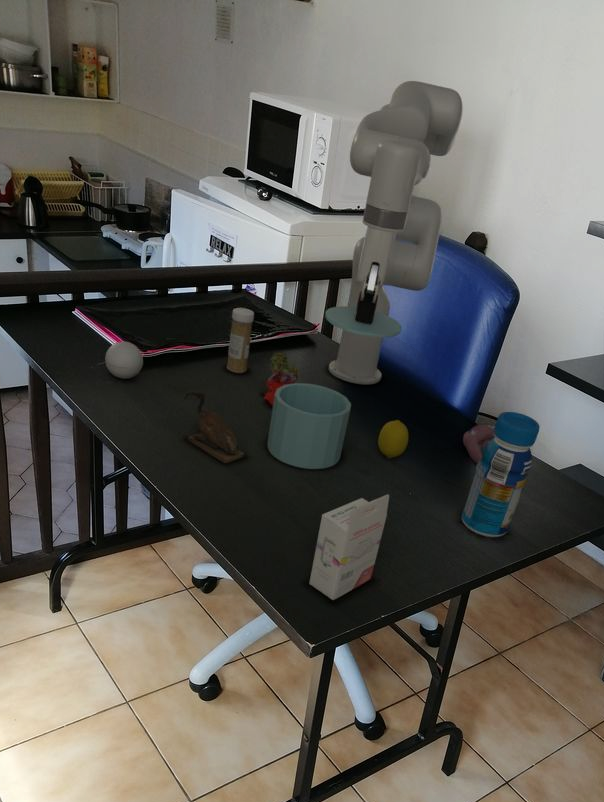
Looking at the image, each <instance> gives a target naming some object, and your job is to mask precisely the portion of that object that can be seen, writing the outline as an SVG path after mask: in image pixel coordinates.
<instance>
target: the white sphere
mask: <svg viewBox="0 0 604 802" xmlns="http://www.w3.org/2000/svg"><path fill="white" fill-rule="evenodd" d="M143 358H144V357H143V354H142V352H141V350H140V349H139V348H138V347H137V346H136V345H135V344H133V343H131V342H129V341H119V342H115V343H113V344H112V345H110V346H109V348H108V349H107V351H106V352H105V357H104V361H103V362H101V363H97V365H96V366H98V365H101V364H104V363H105V366H106V368H107V370H108V372H109V373H110V374H112V375H113V376H114V377H116V378H118V379H122V380H127V379H132V378H134V377H135V376H137V375H138V374H139V373H140V371H141V370H142V369H143V365H144V359H143Z"/></svg>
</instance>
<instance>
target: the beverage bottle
mask: <svg viewBox="0 0 604 802" xmlns="http://www.w3.org/2000/svg"><path fill="white" fill-rule="evenodd" d="M494 426H495V428H494V436H495V437H494V438H493V439H491V440H490V441H489V442H488V443H487V444H486V445H485V447H484V448H483V450H482V451H481V453H482V458H481V459H480V460H479V462H478V464H477V463H476V466H475V467H476V468H475V474H474V477H473V480H472V483H471V486H470V490H469V493H468V496H467V500H466V502H465V506H464V507H463V511H462V513H461V521H462V523H463V524H464V526H465V527H466V528H467V529H468V530H470V531H471V532H473V533H475V534H477V535H480V536H483V537H487V538H499V537H502V536H505V535H506V534H507V533H508V531H509V529H510V526H511V522H512V520H513V517H514V515H515V511H516V509H517V506H518V503H519V501H520V498H521V495H522V492H523V491H524V490H523V489H524V487H525V486H526V485H527V484H526V483H527V481H528V478H529V474H528V473H529V470H530V469H531V468H532V465H533V455H532V451H531V447H533V446H534V444H535V443H536V441H537V438H538V435H539V433H540V428H541V427H540V424H539V423H538V421H537V420H535V419H534V418H533V417H531V416H528V415H526V414H523V413H519V412H515V411H504V412H501V413H500V414H499V415H498V417H497V419H496V422H495V425H494Z"/></svg>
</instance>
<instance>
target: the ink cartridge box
mask: <svg viewBox="0 0 604 802" xmlns="http://www.w3.org/2000/svg"><path fill="white" fill-rule="evenodd" d="M389 501H390V494H388V493H387V494H385V495H383V496H381V497H378V498H375V499H372V500H371V501H368V500H366V499H365V498H363V497H361V498H358V499H357V500H354V501H351V502H349V503H346V504H344V505H341V506H339V507H337V508H335V509H332V510H330V511H327V512H325V513H322V514H321V518H320V519H321V520H320V525H319V530H318V536H317V541H316V545H315V551H314V555H313V561H312V567H311V572H310V578H309V583H308V584H309V585H310V586H312V587H313V588H315V589H316V590H317V591H319V592H321V594H323V595H325V596H326V597H327V598H329V599H330V600H332V601H335V600H337V599H338V598H340V597H342V596H344V595H346V594H347V593H349V592H350V591H352V590H354V589H356V588H358V587H360V586H361V585H363V584H365V583H367V582H369V581H370V580H371V579H372V576H373V572H374V567H375V564H376V561H377V560H376V559H377V556H378V554H379V553H378V552H379V549H380V544H381V540H382V536H383V532H384V528H385V524H386V522H387V521H386V520H387V517H388V508H389Z"/></svg>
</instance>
